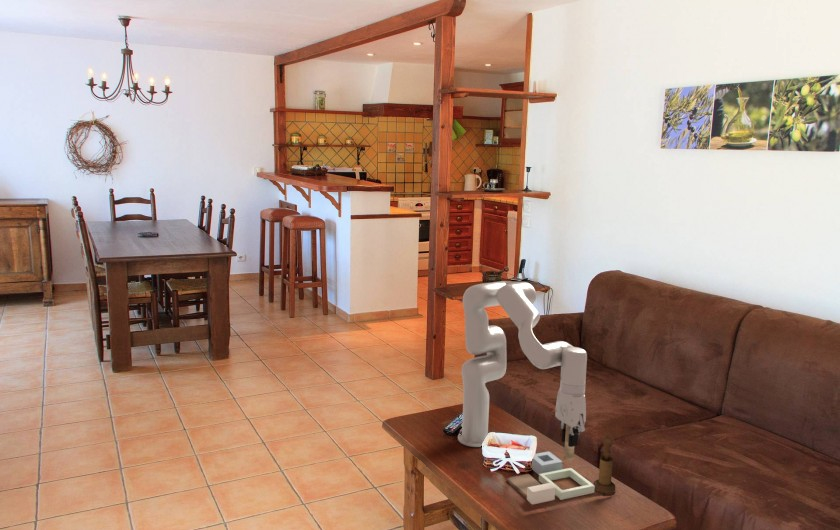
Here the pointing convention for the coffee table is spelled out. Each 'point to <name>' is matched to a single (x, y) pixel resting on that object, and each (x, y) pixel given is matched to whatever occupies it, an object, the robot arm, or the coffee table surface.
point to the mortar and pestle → (605, 471)
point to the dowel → (568, 450)
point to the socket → (546, 463)
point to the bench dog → (541, 493)
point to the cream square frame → (572, 492)
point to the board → (523, 483)
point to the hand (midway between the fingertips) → (569, 443)
